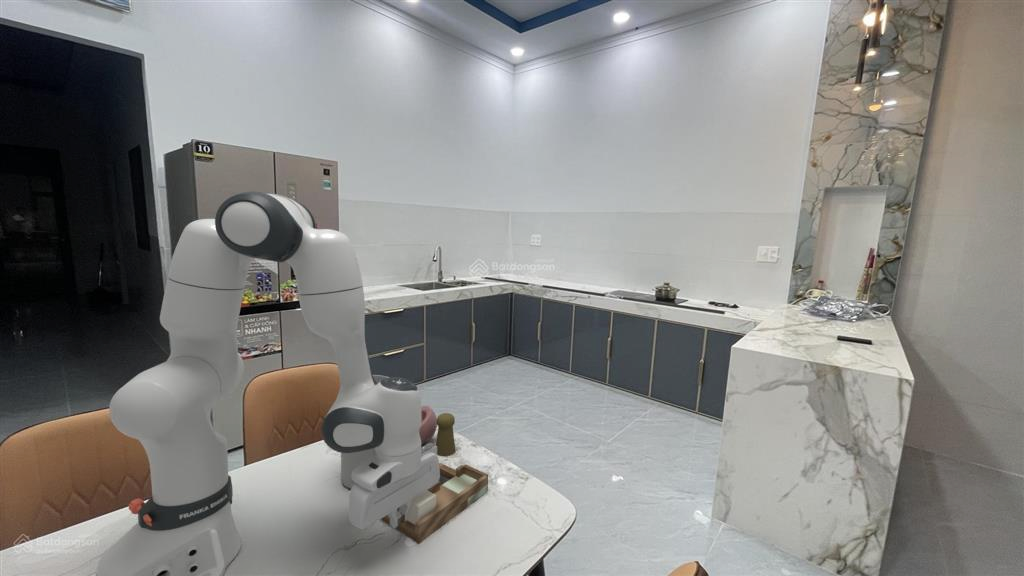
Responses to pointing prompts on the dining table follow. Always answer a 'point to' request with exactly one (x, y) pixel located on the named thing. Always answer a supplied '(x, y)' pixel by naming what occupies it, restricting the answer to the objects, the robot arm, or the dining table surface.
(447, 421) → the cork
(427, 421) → the mortar and pestle
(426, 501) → the block
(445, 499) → the box
